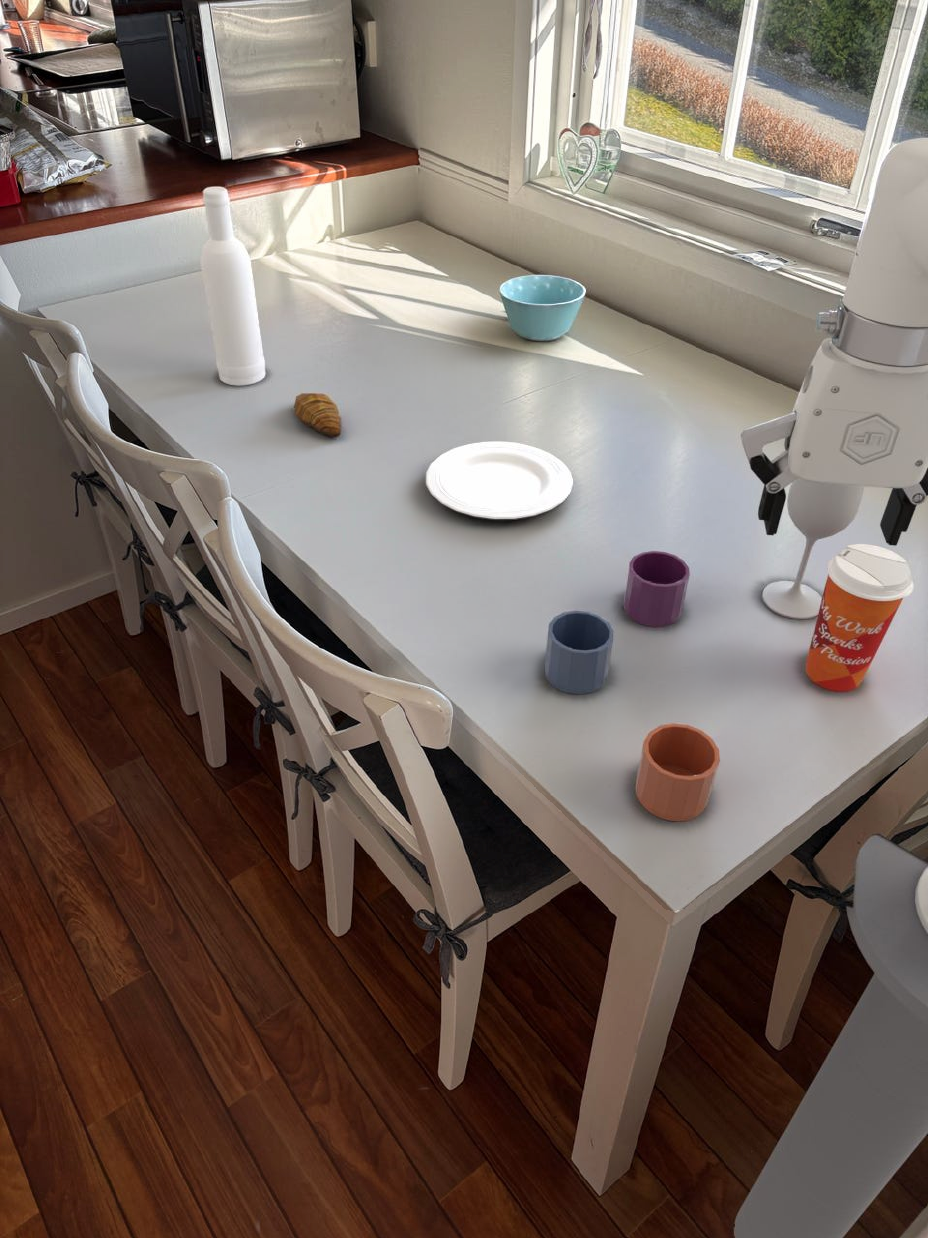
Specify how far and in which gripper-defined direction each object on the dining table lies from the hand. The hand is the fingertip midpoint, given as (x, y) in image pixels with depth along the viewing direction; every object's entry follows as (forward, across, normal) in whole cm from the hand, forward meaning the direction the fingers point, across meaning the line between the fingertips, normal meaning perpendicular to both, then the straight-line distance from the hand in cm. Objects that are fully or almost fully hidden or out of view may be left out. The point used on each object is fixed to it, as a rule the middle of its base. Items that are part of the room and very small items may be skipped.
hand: (827, 531), depth 77 cm
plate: (+26, -32, +45) cm, 61 cm away
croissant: (+26, -62, +60) cm, 90 cm away
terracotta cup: (+26, -9, -8) cm, 29 cm away
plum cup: (+26, -11, +21) cm, 35 cm away
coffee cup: (+26, +9, +12) cm, 30 cm away
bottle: (+26, -79, +74) cm, 111 cm away
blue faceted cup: (+26, -19, +8) cm, 33 cm away
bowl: (+26, -30, +101) cm, 109 cm away
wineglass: (+26, +6, +25) cm, 37 cm away
